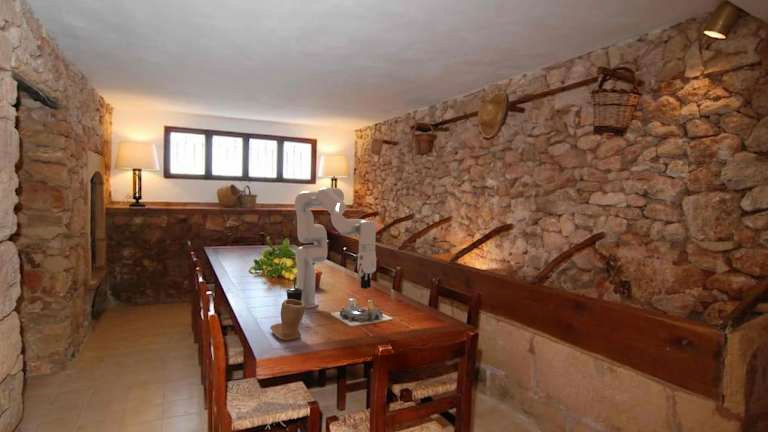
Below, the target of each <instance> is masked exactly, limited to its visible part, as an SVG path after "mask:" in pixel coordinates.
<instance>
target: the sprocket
mask: <svg viewBox="0 0 768 432" xmlns="http://www.w3.org/2000/svg"><path fill="white" fill-rule="evenodd" d="M339 312H340V315H341V318H343V319H345V318H347V319H348V320H349V321H353V320H355V321H359V322H364V321H374V319H381V316H383V314H384V312H383V310H381V308H379V307H377V308H376V307H374V306H373V300H372V299H371V300H368V302H367V306H365V305H356V306H349V307H348V306H347V307H342V309H340V310H339Z"/></svg>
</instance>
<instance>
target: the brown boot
mask: <svg viewBox="0 0 768 432" xmlns="http://www.w3.org/2000/svg"><path fill="white" fill-rule="evenodd" d="M305 310H306V308H305V304H304V303H303V302H301V301H297V300H293V299H287V298H286V299H285V300H283V301H282V303H281V308H280V318H281V319H280V320H281V322H280V323H275V324H272V325H270V330H271V331H272V333H273V334H274V335H275V336H276V337H277V338H278V339H280V340H282V341H283V340H284V341H290V340H297V339H299V338H301V336H302V334H301V332H300V331H299V326H300V325H301V322H302V319H303V317H304V314H305V313H306V312H305Z"/></svg>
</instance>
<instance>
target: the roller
mask: <svg viewBox="0 0 768 432" xmlns="http://www.w3.org/2000/svg"><path fill="white" fill-rule="evenodd" d="M349 306H357V298H354V297H350V298H348V299H347V308H348V307H349Z"/></svg>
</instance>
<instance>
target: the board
mask: <svg viewBox="0 0 768 432" xmlns="http://www.w3.org/2000/svg"><path fill="white" fill-rule="evenodd" d="M330 316H332V317H334V318H336V320H339V321H341V322H342V323H344V324H346V325H348V326H349V327H351V328H352V327H357V326H358V327H359V326H362V325H370V324H375V323H381V322H389V321H393V320H394V318H393V317H391V316H389V315H386V314H385V313H383V316H381V319H374V321H364V322H359V321H355V320H353V321H349V320H348V319H347V318H345V319H343V318H341V315H340V311H336V312H331V313H330Z"/></svg>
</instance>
